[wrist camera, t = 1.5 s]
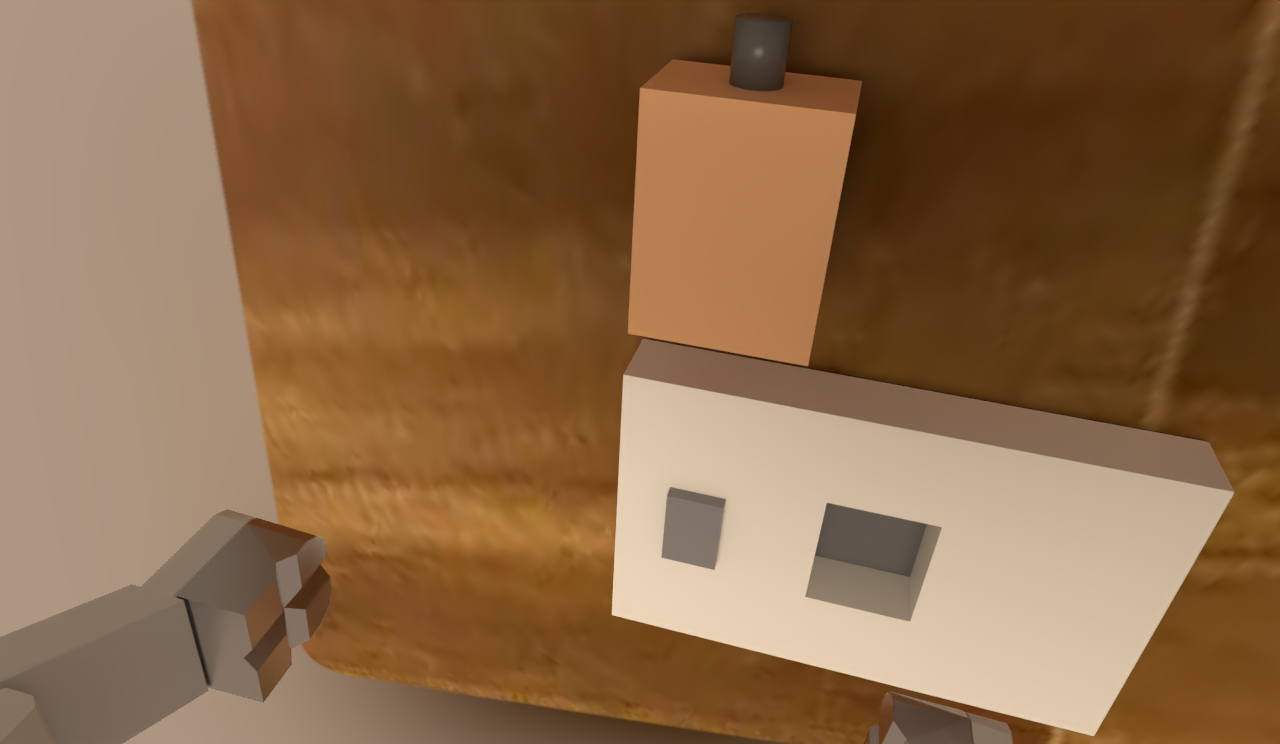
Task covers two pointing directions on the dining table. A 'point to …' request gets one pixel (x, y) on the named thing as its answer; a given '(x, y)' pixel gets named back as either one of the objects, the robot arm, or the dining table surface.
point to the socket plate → (903, 530)
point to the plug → (738, 197)
